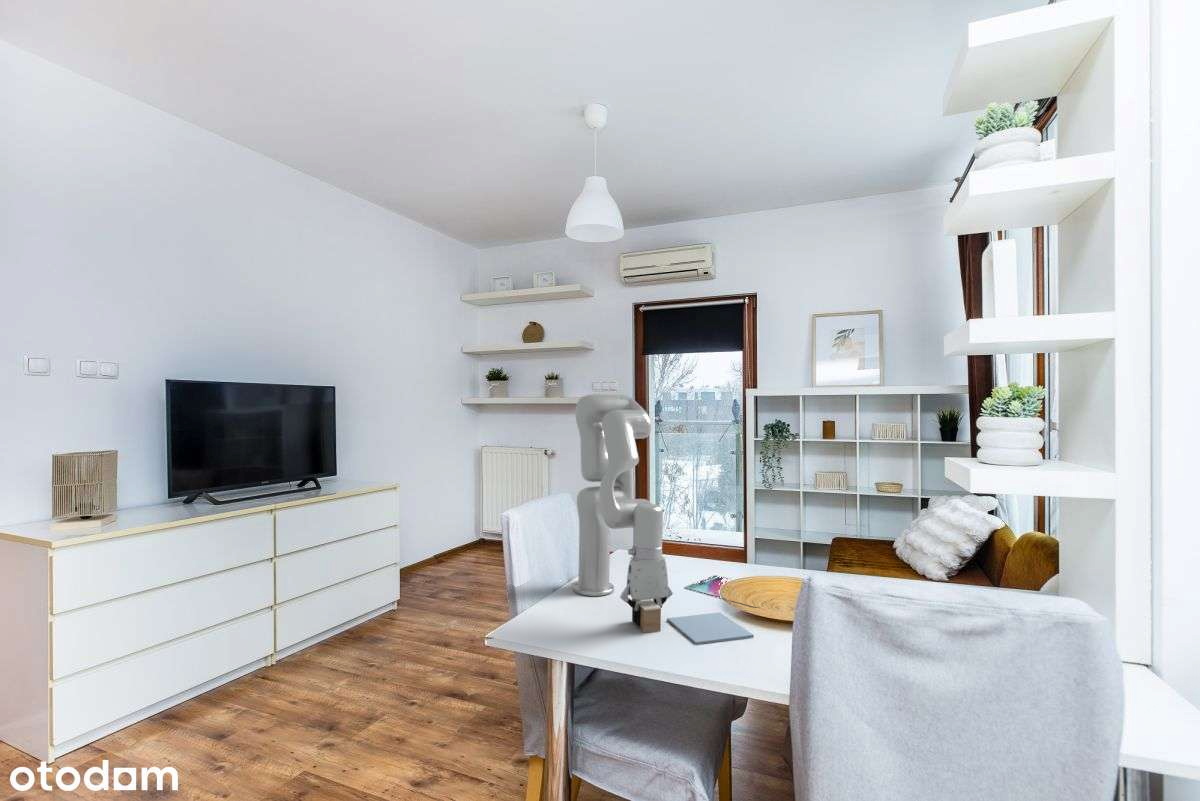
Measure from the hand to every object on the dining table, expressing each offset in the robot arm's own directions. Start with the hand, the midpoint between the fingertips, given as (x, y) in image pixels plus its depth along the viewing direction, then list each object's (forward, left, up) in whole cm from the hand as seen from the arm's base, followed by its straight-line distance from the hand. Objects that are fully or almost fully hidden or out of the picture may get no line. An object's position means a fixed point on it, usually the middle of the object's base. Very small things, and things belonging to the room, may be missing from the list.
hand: (646, 622), depth 149 cm
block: (0, 0, -1) cm, 1 cm away
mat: (+6, +15, -1) cm, 16 cm away
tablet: (-19, +38, -2) cm, 43 cm away
